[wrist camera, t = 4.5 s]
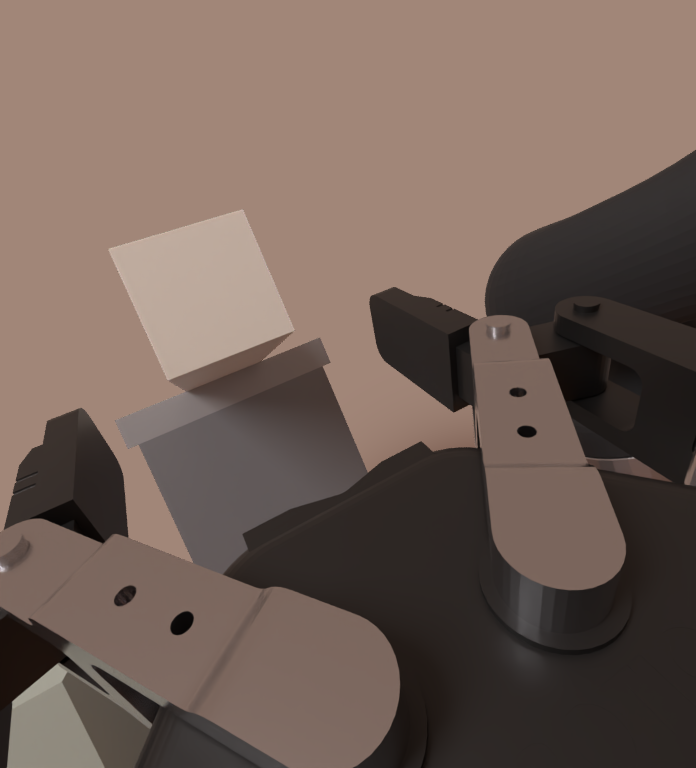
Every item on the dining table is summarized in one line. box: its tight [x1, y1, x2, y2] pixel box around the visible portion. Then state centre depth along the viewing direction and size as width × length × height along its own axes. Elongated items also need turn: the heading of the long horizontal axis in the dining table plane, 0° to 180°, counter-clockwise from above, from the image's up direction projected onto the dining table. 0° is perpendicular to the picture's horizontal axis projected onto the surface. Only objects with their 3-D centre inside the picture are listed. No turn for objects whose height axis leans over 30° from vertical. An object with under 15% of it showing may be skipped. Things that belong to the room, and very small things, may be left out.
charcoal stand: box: [115, 338, 368, 574], centre depth 32 cm, size 11×16×32 cm
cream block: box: [108, 210, 295, 392], centre depth 25 cm, size 4×25×4 cm, turn 19°
